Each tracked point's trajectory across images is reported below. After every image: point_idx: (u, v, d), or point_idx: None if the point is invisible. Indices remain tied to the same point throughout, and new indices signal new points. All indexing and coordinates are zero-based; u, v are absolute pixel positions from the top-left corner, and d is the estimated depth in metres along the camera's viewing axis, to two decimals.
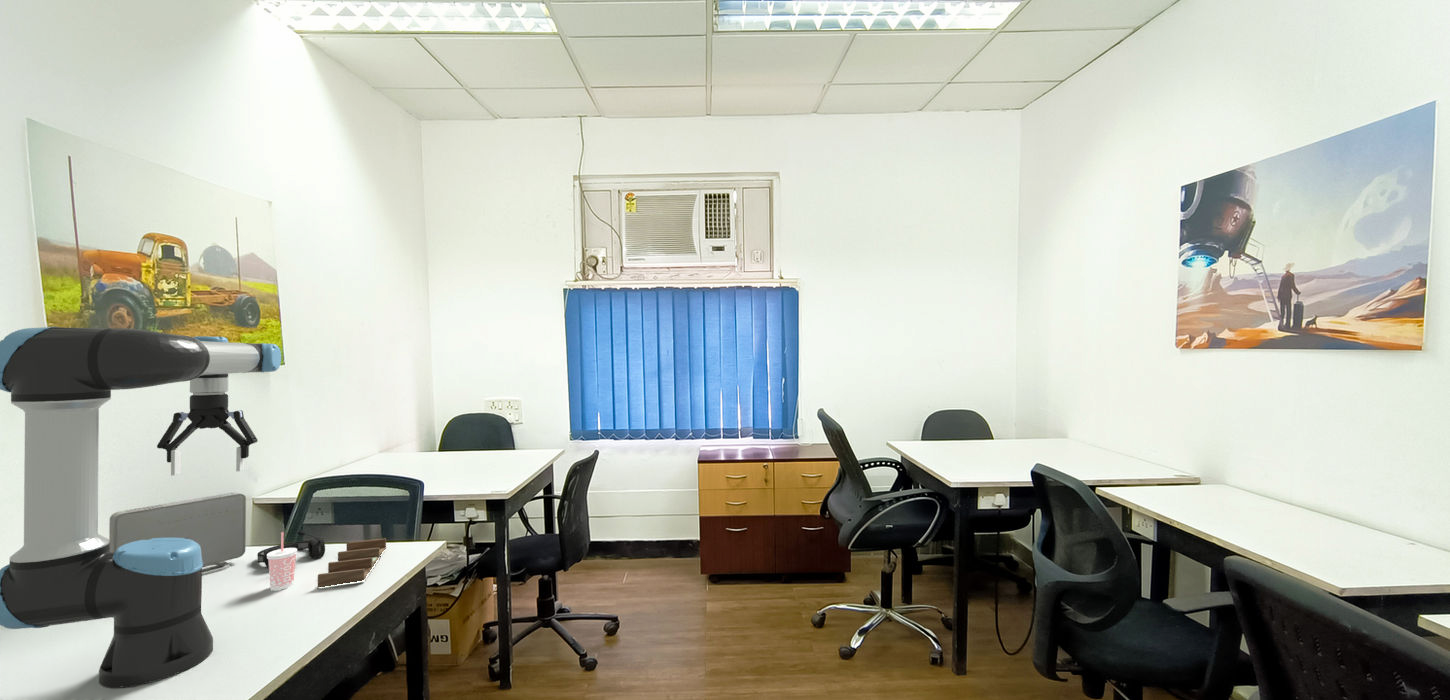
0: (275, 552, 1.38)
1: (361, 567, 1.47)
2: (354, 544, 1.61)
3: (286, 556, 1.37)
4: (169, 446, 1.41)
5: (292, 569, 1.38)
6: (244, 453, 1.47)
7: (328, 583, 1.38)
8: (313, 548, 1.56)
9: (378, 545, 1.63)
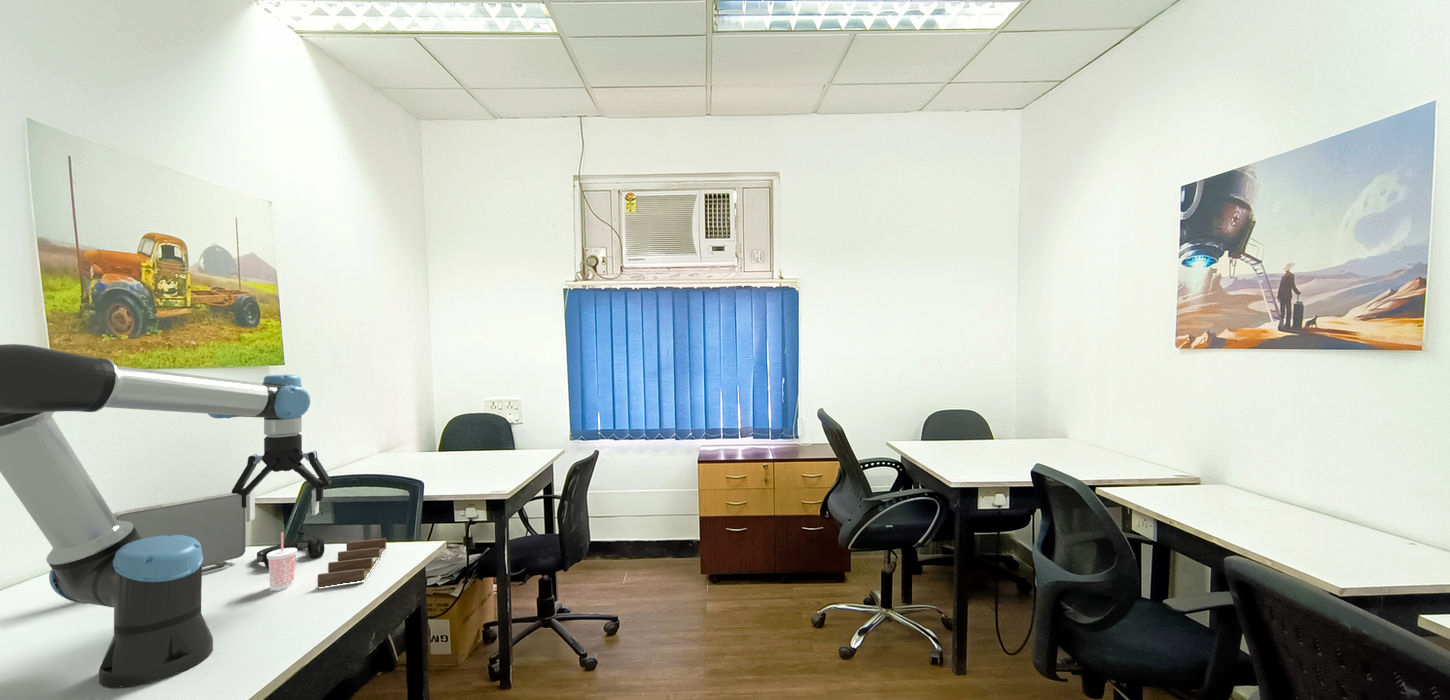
0: (275, 552, 1.38)
1: (361, 567, 1.47)
2: (354, 544, 1.61)
3: (286, 556, 1.37)
4: (244, 491, 1.35)
5: (292, 569, 1.38)
6: (319, 496, 1.41)
7: (328, 583, 1.38)
8: (312, 548, 1.57)
9: (378, 545, 1.63)
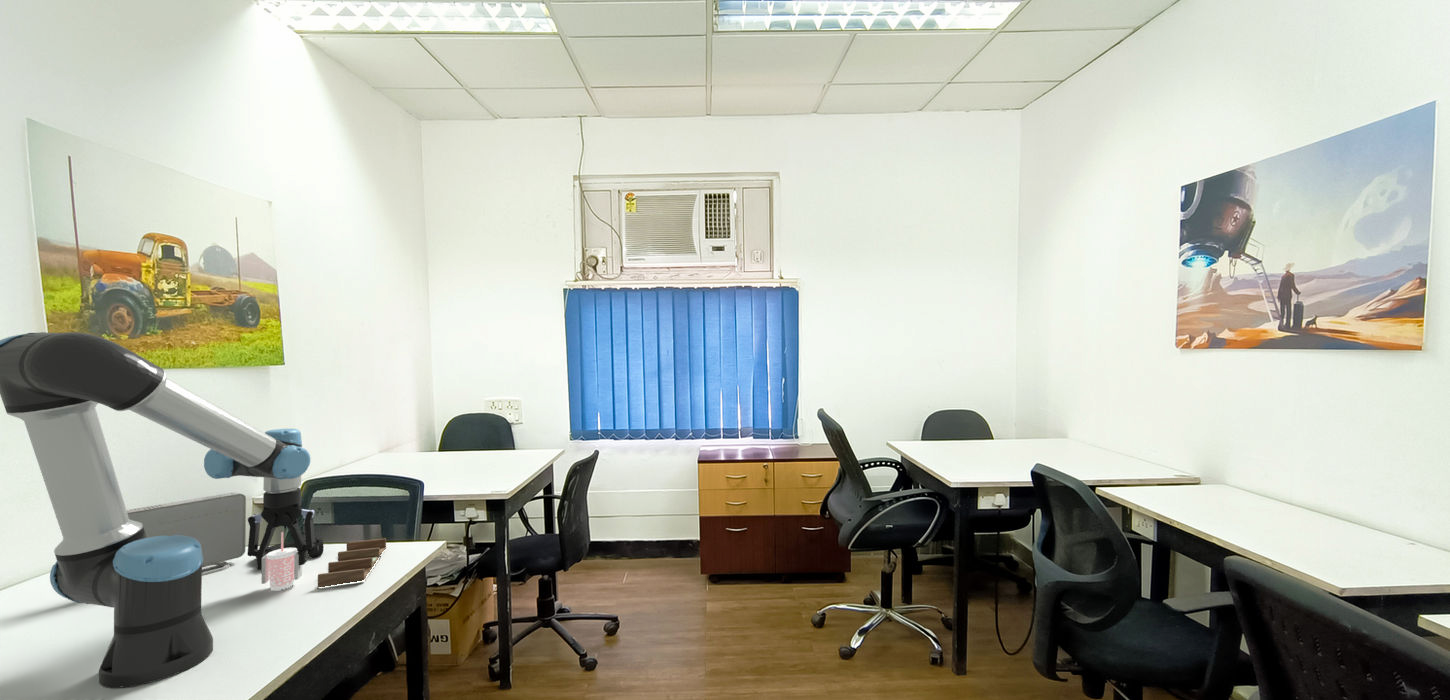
0: (275, 552, 1.38)
1: (361, 567, 1.47)
2: (354, 544, 1.61)
3: (286, 556, 1.37)
4: (259, 553, 1.36)
5: (292, 569, 1.38)
6: (302, 559, 1.39)
7: (328, 583, 1.38)
8: None
9: (378, 545, 1.63)
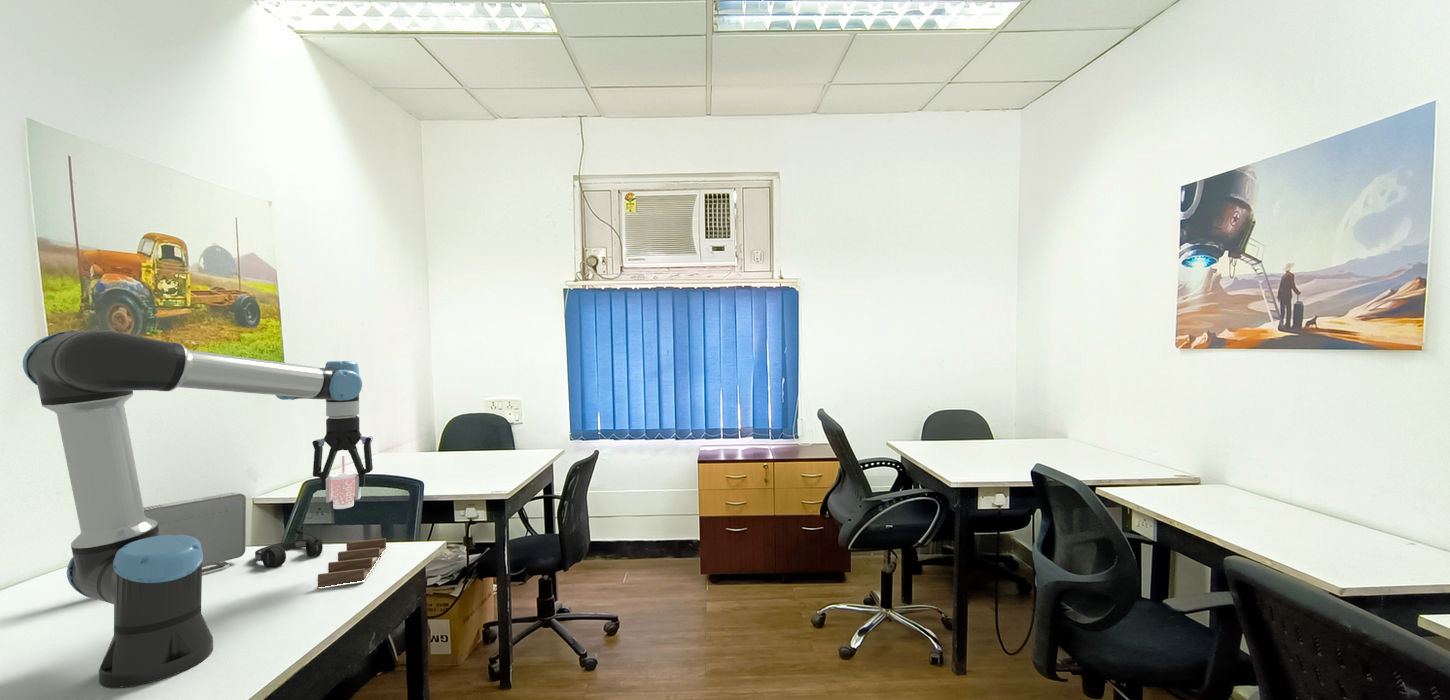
0: (337, 474, 1.49)
1: (361, 567, 1.47)
2: (354, 544, 1.61)
3: (348, 477, 1.47)
4: (323, 474, 1.46)
5: (353, 490, 1.49)
6: (362, 482, 1.50)
7: (328, 583, 1.38)
8: (311, 547, 1.58)
9: (378, 545, 1.63)
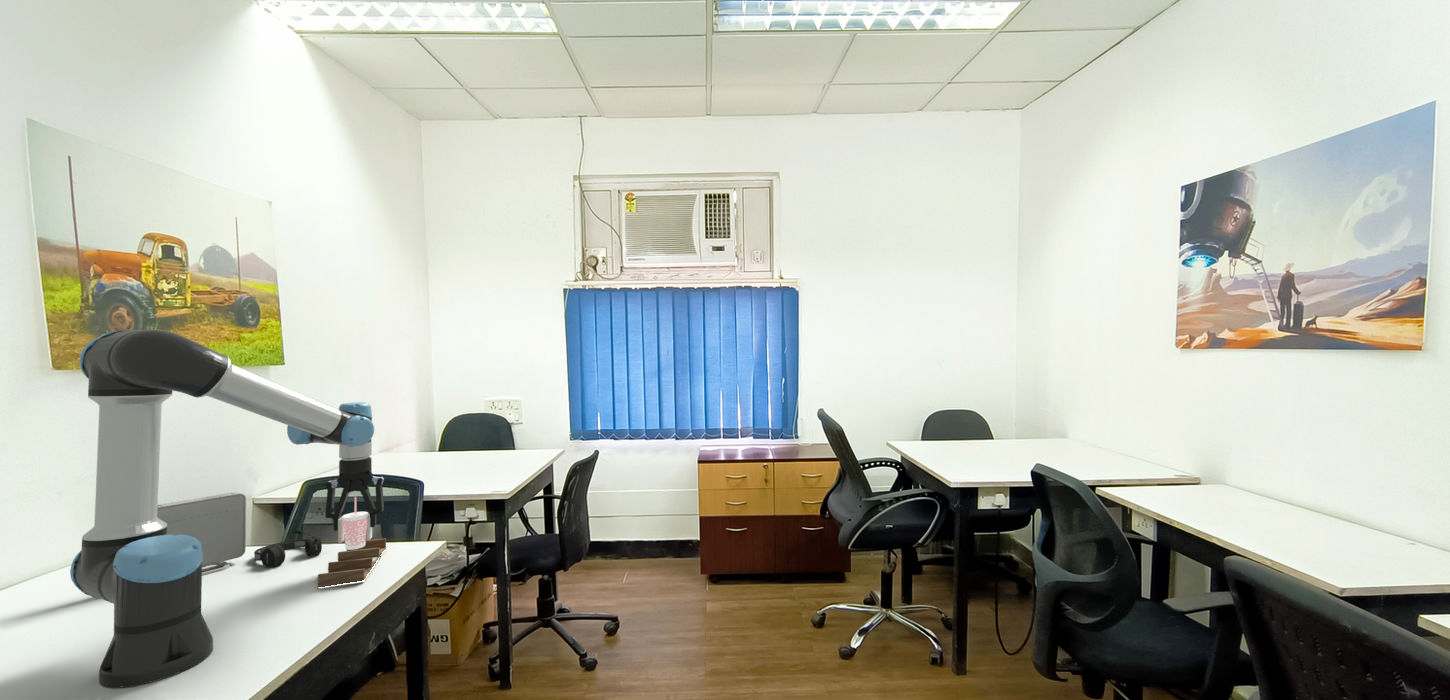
0: (349, 515, 1.51)
1: (361, 567, 1.47)
2: None
3: (360, 518, 1.49)
4: (335, 515, 1.48)
5: (364, 530, 1.51)
6: (373, 522, 1.52)
7: (328, 583, 1.38)
8: (310, 546, 1.58)
9: (378, 545, 1.63)
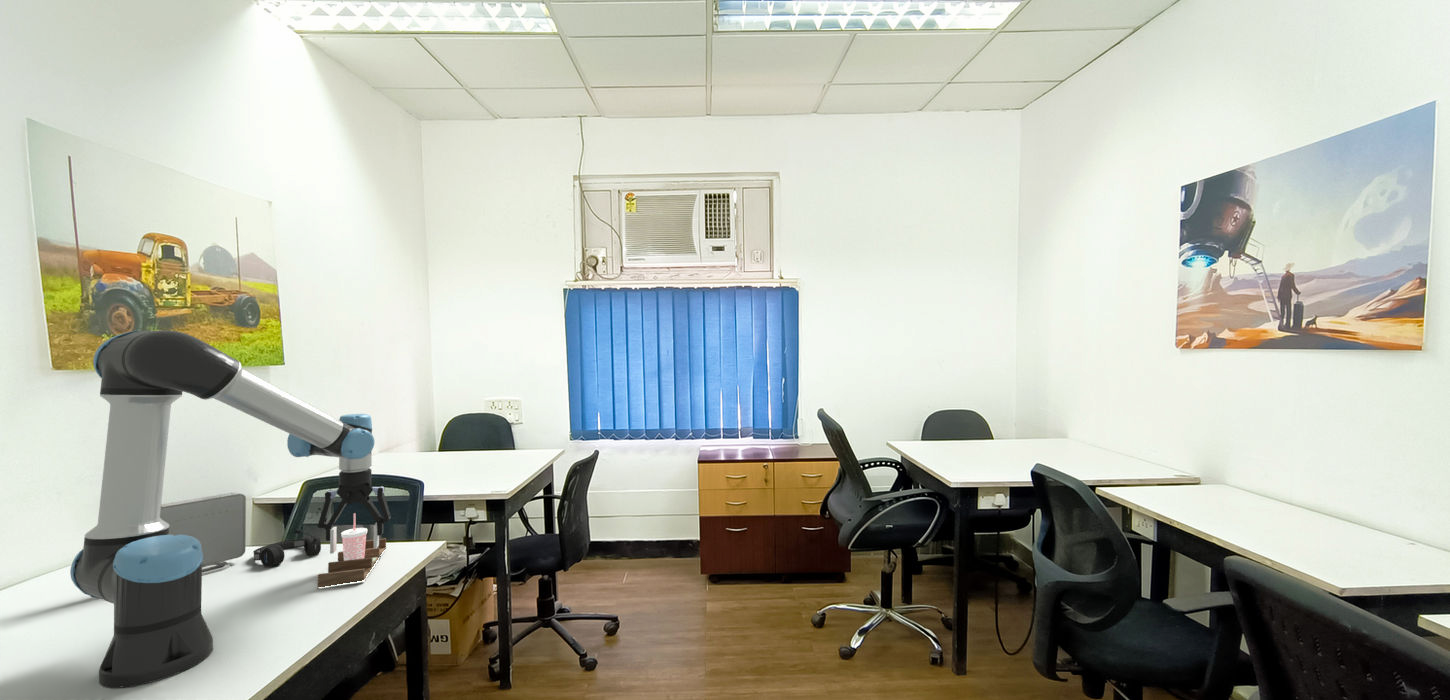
0: (348, 531, 1.51)
1: (361, 567, 1.47)
2: None
3: (359, 535, 1.49)
4: (328, 525, 1.48)
5: (363, 547, 1.51)
6: (380, 530, 1.52)
7: (328, 583, 1.38)
8: (309, 546, 1.58)
9: None
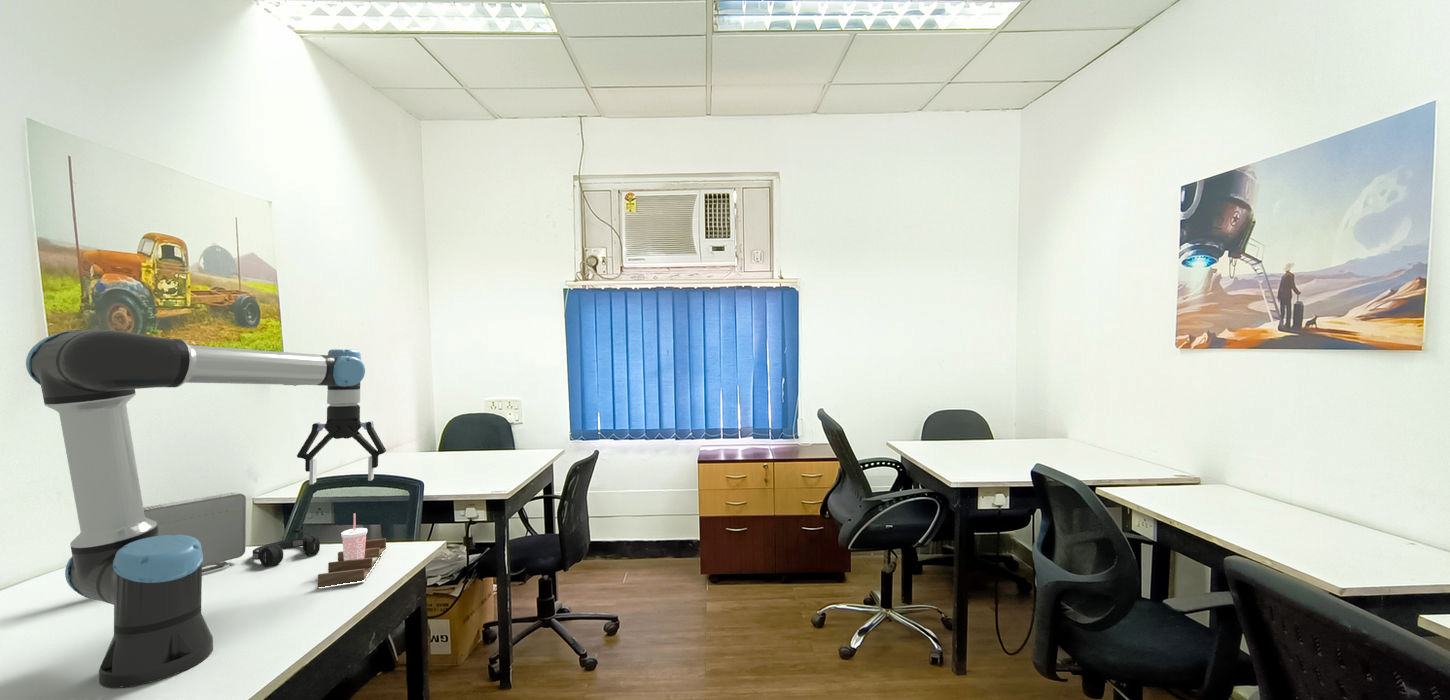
0: (348, 531, 1.51)
1: (361, 567, 1.47)
2: None
3: (359, 535, 1.49)
4: (308, 456, 1.45)
5: (363, 547, 1.51)
6: (375, 463, 1.51)
7: (328, 583, 1.38)
8: (308, 545, 1.59)
9: (378, 545, 1.63)
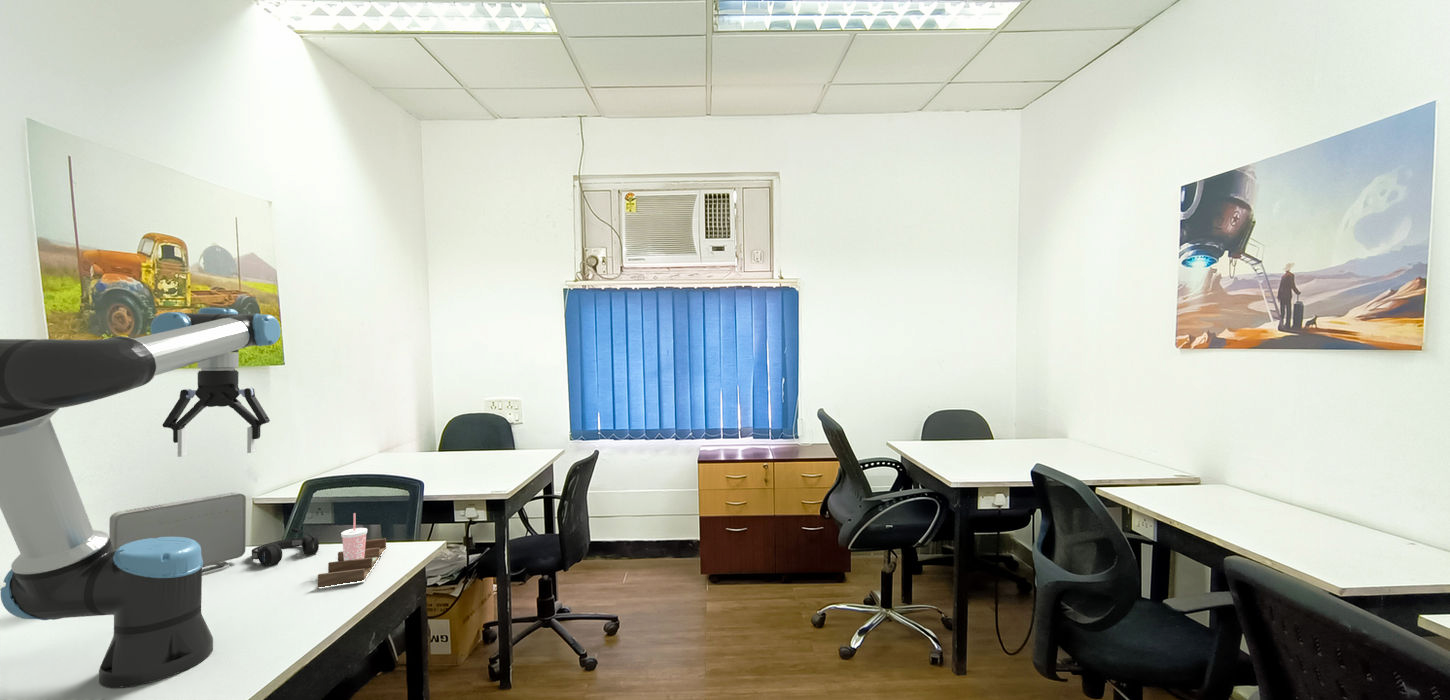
0: (348, 531, 1.51)
1: (361, 567, 1.47)
2: None
3: (359, 535, 1.49)
4: (176, 425, 1.31)
5: (363, 547, 1.51)
6: (255, 433, 1.38)
7: (328, 583, 1.38)
8: (307, 545, 1.59)
9: (378, 545, 1.63)
